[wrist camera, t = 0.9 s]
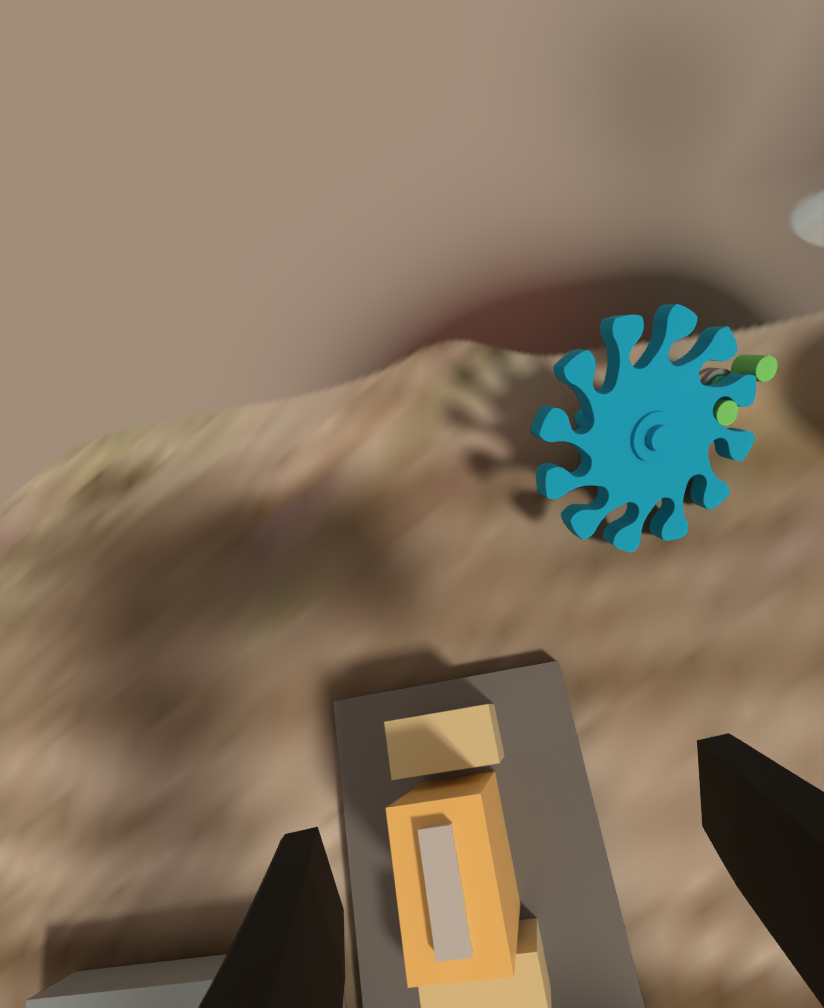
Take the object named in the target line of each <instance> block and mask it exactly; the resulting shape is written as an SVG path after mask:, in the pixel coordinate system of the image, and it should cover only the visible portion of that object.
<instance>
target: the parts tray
mask: <svg viewBox="0 0 824 1008" xmlns="http://www.w3.org/2000/svg"><path fill="white" fill-rule="evenodd" d="M226 955H227V954H224V955H215V956H206V957H197V958H189V959H180V960H171V961H162V962H154V963H145V964H136V965H127V966H119V967H110V968H101V969H92V970H84V971H76V972H74V973H72V974H71V975H69V976H67V977H65V978H64V979H62V980H60V981H59V982H57V983H55V984H53V985H52V986H50V987H48V988H46V989H45V990H43V991H41V992H40V993H38V994H36V995H34V996H33V997H31V998H29V999H27V1000H26V1008H198V1007H199V1005H200V1003H201V1001H202V999H203V998H204V996H205V994H206V992H207V990H208V989H209V987H210V985H211V983H212V981H213V980H214V978H215V976H216V974H217V972H218V970H219V968H220V966H221V964H222V963H223V961H224V959H225V957H226ZM343 1008H345V1000H344V997H343Z"/></svg>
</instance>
